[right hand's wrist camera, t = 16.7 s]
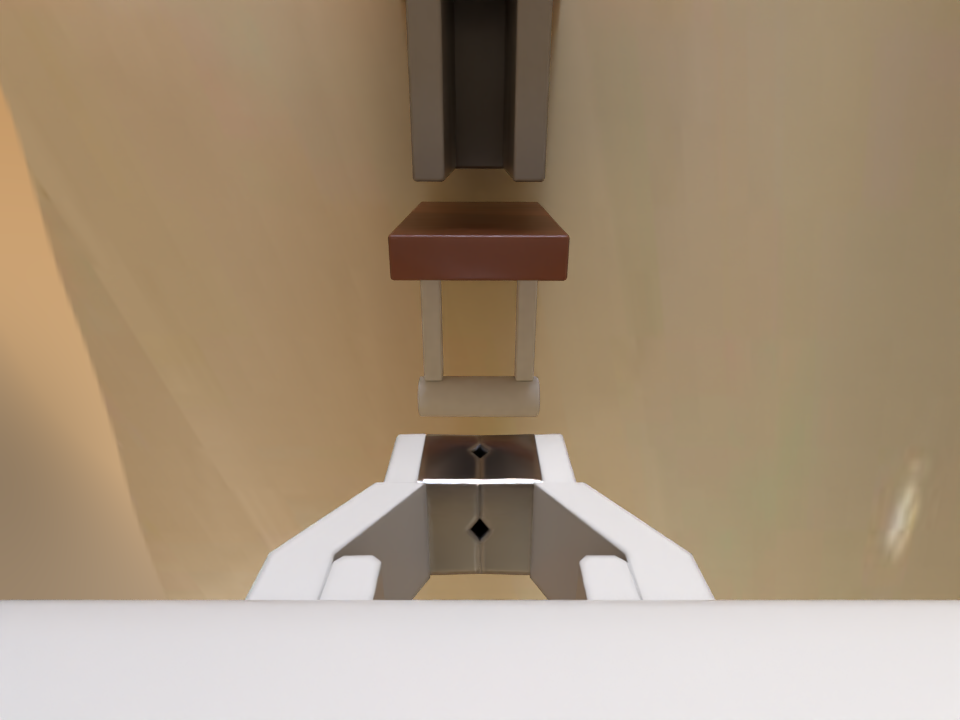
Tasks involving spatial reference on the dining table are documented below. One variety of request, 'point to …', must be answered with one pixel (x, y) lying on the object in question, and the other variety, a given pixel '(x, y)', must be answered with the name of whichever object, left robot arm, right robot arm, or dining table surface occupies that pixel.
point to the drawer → (479, 145)
